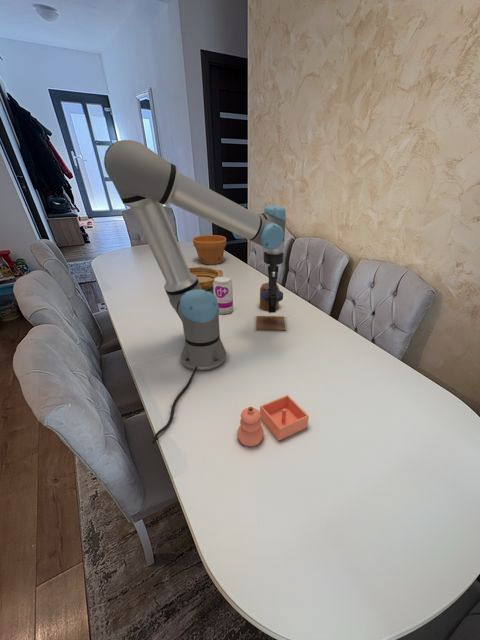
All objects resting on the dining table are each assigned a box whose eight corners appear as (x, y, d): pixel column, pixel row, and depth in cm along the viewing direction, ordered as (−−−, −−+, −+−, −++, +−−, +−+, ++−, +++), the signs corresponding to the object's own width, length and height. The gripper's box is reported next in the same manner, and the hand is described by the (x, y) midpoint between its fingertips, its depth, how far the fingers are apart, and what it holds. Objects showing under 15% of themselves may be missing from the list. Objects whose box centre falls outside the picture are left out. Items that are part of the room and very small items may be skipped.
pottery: (286, 406, 88) (289, 379, 83) (307, 427, 82) (311, 399, 76) (230, 429, 80) (229, 401, 75) (248, 455, 74) (248, 426, 68)
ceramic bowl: (183, 303, 146) (181, 287, 142) (162, 287, 162) (160, 273, 158) (234, 289, 162) (234, 275, 158) (211, 276, 178) (210, 263, 173)
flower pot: (187, 262, 200) (185, 238, 192) (210, 255, 214) (208, 233, 206) (212, 268, 190) (210, 244, 182) (233, 260, 205) (232, 237, 197)
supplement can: (230, 315, 136) (229, 283, 128) (212, 313, 138) (210, 281, 129) (235, 307, 143) (234, 276, 135) (218, 306, 144) (216, 275, 136)
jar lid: (271, 291, 130) (271, 287, 129) (287, 297, 124) (288, 293, 123) (256, 297, 124) (256, 293, 123) (272, 304, 119) (272, 300, 118)
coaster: (285, 330, 126) (285, 329, 125) (256, 330, 125) (256, 329, 125) (283, 317, 136) (283, 316, 135) (256, 317, 136) (256, 316, 135)
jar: (279, 311, 141) (280, 289, 136) (260, 311, 141) (260, 289, 135) (277, 303, 149) (278, 282, 143) (259, 303, 148) (259, 282, 143)
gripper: (263, 244, 123) (262, 296, 135) (263, 260, 105) (262, 318, 117) (282, 244, 123) (279, 296, 136) (285, 260, 105) (282, 319, 117)
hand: (271, 306), depth 126 cm, fingers closed on jar lid, 9 cm apart
